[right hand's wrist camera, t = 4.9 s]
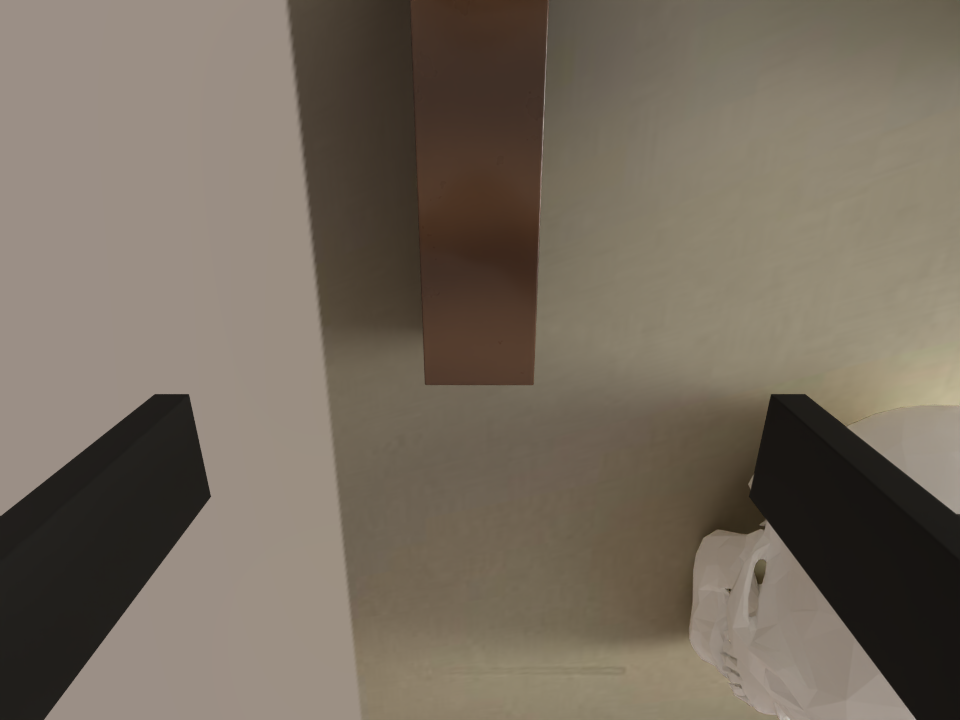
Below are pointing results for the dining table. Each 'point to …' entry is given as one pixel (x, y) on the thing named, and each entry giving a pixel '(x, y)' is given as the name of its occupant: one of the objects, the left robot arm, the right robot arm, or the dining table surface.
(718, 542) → the skull
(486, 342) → the walnut beam
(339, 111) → the dining table surface
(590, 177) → the dining table surface
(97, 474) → the right robot arm
